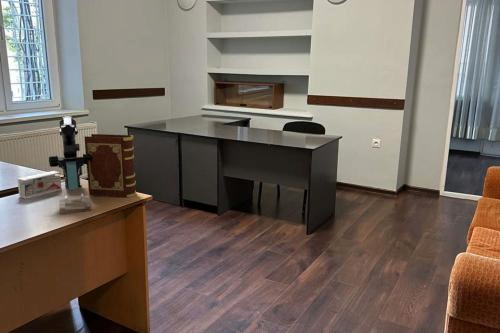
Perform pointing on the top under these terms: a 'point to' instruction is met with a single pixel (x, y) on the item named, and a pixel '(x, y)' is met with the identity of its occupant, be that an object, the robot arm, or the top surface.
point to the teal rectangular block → (72, 175)
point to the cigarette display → (39, 184)
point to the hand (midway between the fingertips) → (72, 175)
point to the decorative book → (110, 165)
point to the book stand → (74, 205)
